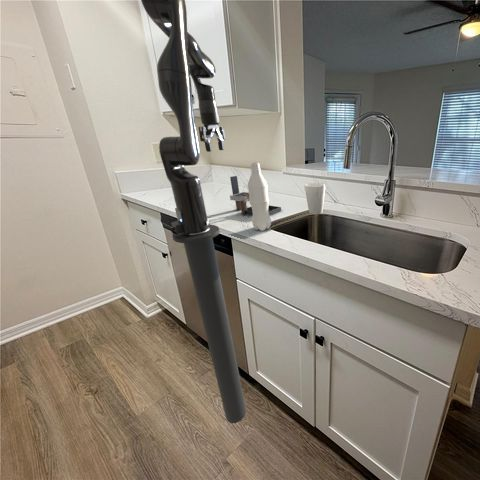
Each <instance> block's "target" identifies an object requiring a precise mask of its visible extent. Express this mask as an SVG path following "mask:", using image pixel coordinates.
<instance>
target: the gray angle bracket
mask: <svg viewBox="0 0 480 480" xmlns="http://www.w3.org/2000/svg"><path fill="white" fill-rule="evenodd" d="M229 178H230V184H231V192H232V194H231V195H229V200H230V201H234V202H235V201H241V200H244V201H245V203H246V204H247V203H248V202H250V198H246V197H241V196H249V191H248V192H247V191H242V192H240V189H239V187H240V186H239V181H238V175H233V176H229Z"/></svg>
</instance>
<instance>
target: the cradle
mask: <svg viewBox="0 0 480 480" xmlns="http://www.w3.org/2000/svg"><path fill="white" fill-rule="evenodd" d="M234 202H235V208H236V209H235V210H236V211H239V212H240V211H241V210H242V211H241V214H242V213H243V214H242V216H247V215H246V208H248V205H247V203H245V201H244V200H241V201H234Z"/></svg>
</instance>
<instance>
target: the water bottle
mask: <svg viewBox="0 0 480 480" xmlns="http://www.w3.org/2000/svg"><path fill="white" fill-rule="evenodd" d="M261 170H262V169H261V166H260V162H250V171H251V174H250V176H249V179H248V182H247V191H248V193H249V198H250V201H249V205H250V207H252V211H253V216H252V221H251V224H252V226H253V228H254V230H256V231H261V232H262V231H263V232H264V231H265V230H266V229H267V230H269V229H270V228H271V225H272V219H271V217H270V216H271V215H270V216H269V211H268V206H270V198H269V191H268V183H267V180H266V179H265V178H264V176H263V174H262V172H261Z"/></svg>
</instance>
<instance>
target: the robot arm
mask: <svg viewBox="0 0 480 480" xmlns="http://www.w3.org/2000/svg"><path fill="white" fill-rule="evenodd" d="M140 2H141V4H142V7H143V9H144V11H145V13H146V15H147V16H148V17H149V18H150V19H151V21H152V22H153V23H154V25H156V26H157V27H158V28H159V29H160V30H161V31H162V32H163V34H164V35H165V36H166V37H167V38H168V40H167V43H166V44H165V46H164V49H163V50H162V52H161V54H160V56H159V58H158V61H157V64H156V74H157V82H158V88H159V92H160V94H161V97H162V98H163V100H164V102H165V103H166V104H167V105H168V108H170V110H171V111H172V113H173V114H174V117H175V119H176V121H177V125H178V129H179V136H176V135H175V136H163V137H162V138H161V139H160V140H159V143H158V150H159V156H160V159H161V162H162V166H163V169H164V172H165V176H166V178H167V180H168V182H169V183H170V186H171V191H172V195H173V199H174V203H175V208H174V211H175V215H176V219H177V220H175V221H171V222H170V224H171V227H172V228H171V229H170V231H171V234H172V235H173V234H179V233H182V234H183V235H184V236H186V237H188V236H196V235H201V234H204V233H207V232H208V231H209V230H210V228H209V225H210V219H209V218H208V215H207V210H206V205H205V199H204V195H203V189H202V185H201V179H200V177H199V176H198V175H196V174H193V173H191V172H189V171H188V170H187V169H186V168H185V166H186V167H188V166H191V167H192V166H193V167H194V166H196V165H197V164H198V163H199V162H200V157H201V151H200V144H199V141H200V142H203V143H204V146H205V151H206V152H207V153H209V152H210V153H211V152H212V145H211V139H212V138H214V139H216V140H217V145H218V150H219V151H224V150H225V146H224V141H226V138H227V137H226V134H225V128H224V126H219V124H220V123H221V122H220V116H219V111H218V105H217V101H216V95H215V90H214V89H215V88H214V87H213V86H212V85H211V84H206V83H203V82H202V81H201V79H205V80H207V79H212V78H214V77H215V75H216V72H217V71H216V66H215V64H214V62H213V61H212V59H211V58H210V57H209V56H208V55H207V54H206V53H205V52H204V51H203V50H202V49H201V47H200V45H199V43H198V42H197V40H196V39H195V37H194V35H193V36H192V34H190V33H189V32H188V12H187V5H186V0H140ZM192 82H193V84H194V88H195V90H196V96H197V101H198V109H199V117H200V121H201V124H203V126H198V133H197V127H196V121H195V114H194V104H193V89H192ZM198 134H199V137H198ZM199 139H200V140H199Z"/></svg>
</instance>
